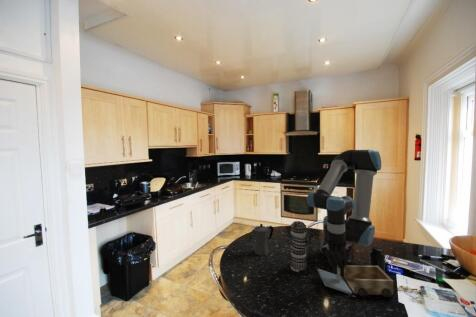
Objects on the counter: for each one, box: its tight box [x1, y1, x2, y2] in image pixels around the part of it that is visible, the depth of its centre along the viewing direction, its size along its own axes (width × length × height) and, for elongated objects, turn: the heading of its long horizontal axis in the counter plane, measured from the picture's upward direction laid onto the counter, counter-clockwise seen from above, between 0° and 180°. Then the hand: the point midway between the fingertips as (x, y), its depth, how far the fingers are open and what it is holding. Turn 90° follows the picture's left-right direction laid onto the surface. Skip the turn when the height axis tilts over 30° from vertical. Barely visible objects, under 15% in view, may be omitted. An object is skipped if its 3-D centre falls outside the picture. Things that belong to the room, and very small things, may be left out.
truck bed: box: [343, 264, 394, 298], centre depth 102 cm, size 16×15×7 cm
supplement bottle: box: [369, 245, 386, 273], centre depth 115 cm, size 7×7×12 cm
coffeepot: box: [251, 223, 275, 256], centre depth 138 cm, size 15×9×18 cm, turn 113°
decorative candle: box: [289, 220, 308, 273], centre depth 119 cm, size 9×9×25 cm
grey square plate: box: [316, 268, 353, 295], centre depth 103 cm, size 1×12×12 cm
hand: (338, 280), depth 103 cm, fingers closed
